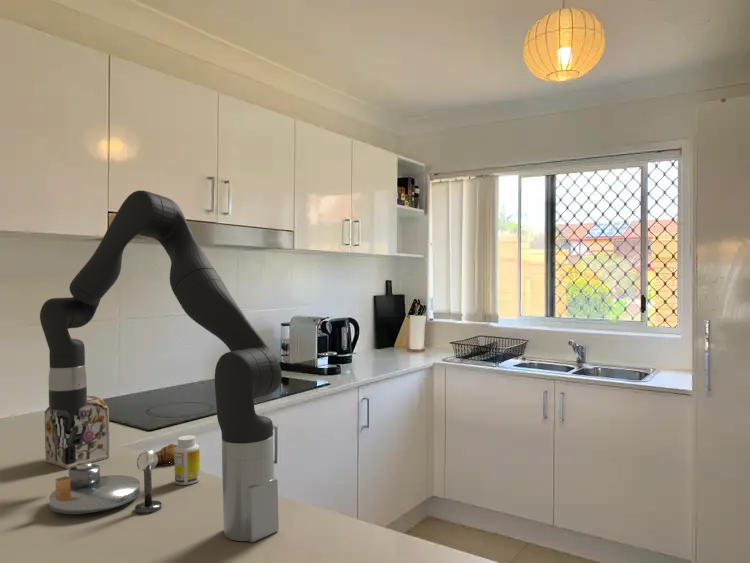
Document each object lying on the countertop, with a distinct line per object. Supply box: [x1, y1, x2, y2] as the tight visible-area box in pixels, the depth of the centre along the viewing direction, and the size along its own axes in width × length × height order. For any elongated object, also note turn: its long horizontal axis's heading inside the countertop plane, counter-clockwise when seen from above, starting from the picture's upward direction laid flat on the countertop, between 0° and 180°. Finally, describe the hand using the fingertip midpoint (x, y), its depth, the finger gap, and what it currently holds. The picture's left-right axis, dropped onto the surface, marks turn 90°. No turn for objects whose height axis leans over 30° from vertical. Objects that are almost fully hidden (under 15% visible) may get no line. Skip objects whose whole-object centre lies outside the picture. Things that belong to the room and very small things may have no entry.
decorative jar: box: [44, 395, 111, 470], centre depth 150 cm, size 12×12×18 cm
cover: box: [68, 462, 101, 489], centre depth 123 cm, size 6×6×4 cm
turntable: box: [49, 474, 141, 515], centre depth 119 cm, size 17×17×6 cm
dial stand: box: [134, 449, 163, 515], centre depth 115 cm, size 5×5×12 cm
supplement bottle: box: [174, 434, 201, 486], centre depth 131 cm, size 6×6×10 cm
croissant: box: [155, 443, 178, 466], centre depth 147 cm, size 14×7×5 cm, turn 122°
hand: (69, 463), depth 128 cm, fingers closed
